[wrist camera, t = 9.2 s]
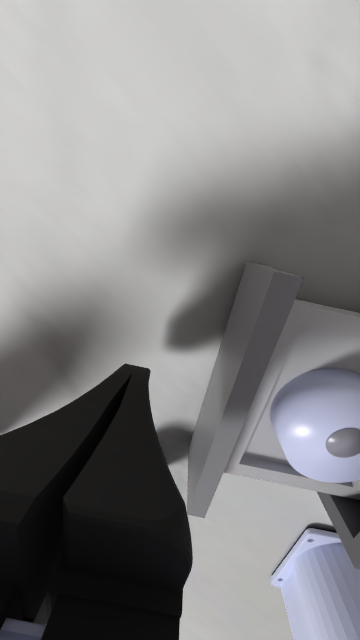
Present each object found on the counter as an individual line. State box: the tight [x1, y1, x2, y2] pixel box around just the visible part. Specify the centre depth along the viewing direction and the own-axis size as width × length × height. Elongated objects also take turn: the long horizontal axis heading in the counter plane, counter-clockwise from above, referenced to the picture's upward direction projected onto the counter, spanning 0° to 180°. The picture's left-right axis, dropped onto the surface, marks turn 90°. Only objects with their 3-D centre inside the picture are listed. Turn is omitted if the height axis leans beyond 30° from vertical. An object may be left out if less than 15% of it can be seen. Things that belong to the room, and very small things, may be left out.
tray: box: [187, 261, 360, 518], centre depth 11 cm, size 11×14×4 cm
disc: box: [270, 368, 360, 483], centre depth 11 cm, size 6×6×2 cm
